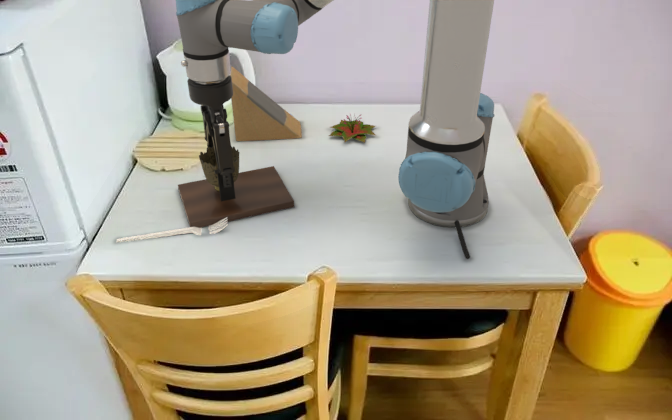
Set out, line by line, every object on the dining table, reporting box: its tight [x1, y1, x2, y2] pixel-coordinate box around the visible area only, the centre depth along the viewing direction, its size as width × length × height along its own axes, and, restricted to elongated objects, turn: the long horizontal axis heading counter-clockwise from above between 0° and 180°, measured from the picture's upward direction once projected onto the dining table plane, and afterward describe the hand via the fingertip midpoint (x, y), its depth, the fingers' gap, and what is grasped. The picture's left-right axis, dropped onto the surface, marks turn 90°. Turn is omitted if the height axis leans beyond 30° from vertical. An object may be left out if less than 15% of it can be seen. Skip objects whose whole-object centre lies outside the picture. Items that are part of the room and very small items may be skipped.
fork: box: [116, 217, 229, 243], centre depth 108 cm, size 3×20×2 cm, turn 103°
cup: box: [198, 146, 241, 193], centre depth 113 cm, size 8×7×8 cm
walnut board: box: [177, 165, 295, 228], centre depth 117 cm, size 14×20×2 cm
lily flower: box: [328, 114, 376, 143], centre depth 139 cm, size 12×12×5 cm
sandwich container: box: [230, 66, 303, 142], centre depth 137 cm, size 9×15×15 cm, turn 95°
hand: (223, 188), depth 116 cm, fingers closed on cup, 7 cm apart
